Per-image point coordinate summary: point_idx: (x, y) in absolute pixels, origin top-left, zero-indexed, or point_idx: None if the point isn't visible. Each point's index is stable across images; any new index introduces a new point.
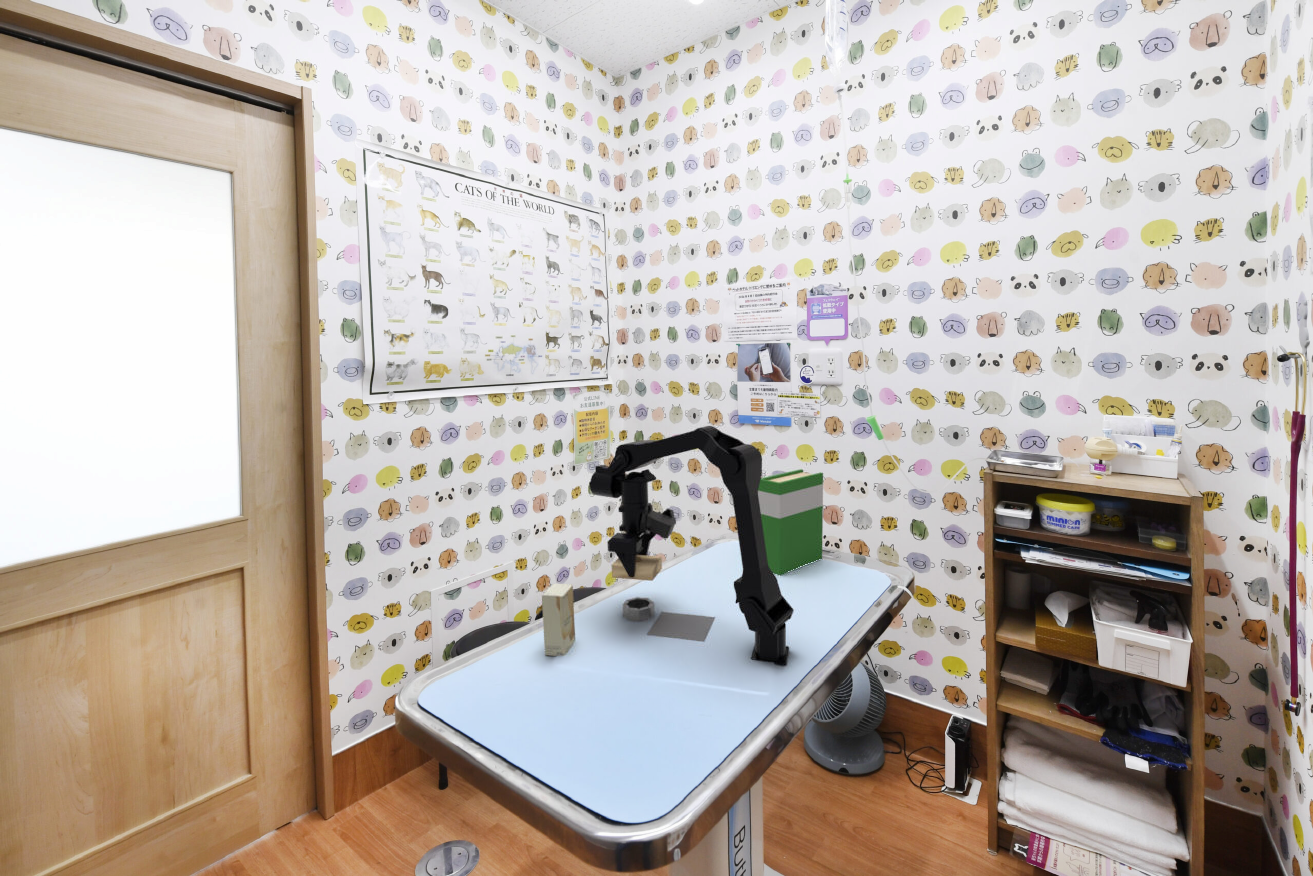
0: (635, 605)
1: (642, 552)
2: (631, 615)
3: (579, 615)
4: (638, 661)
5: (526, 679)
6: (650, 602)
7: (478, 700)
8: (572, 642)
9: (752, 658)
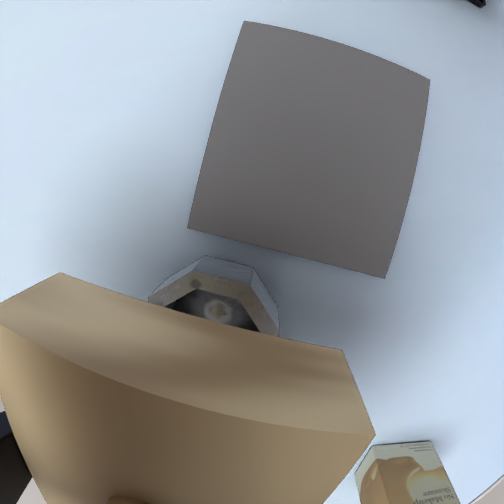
0: None
1: (8, 465)
2: None
3: None
4: (494, 285)
5: (469, 456)
6: (192, 287)
7: (485, 474)
8: (396, 451)
9: (483, 3)
